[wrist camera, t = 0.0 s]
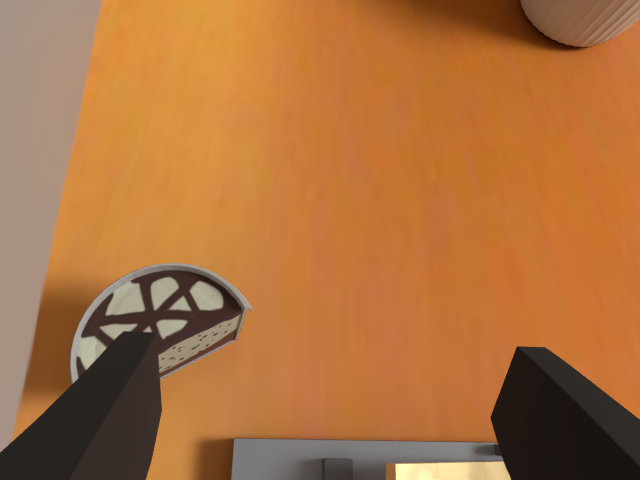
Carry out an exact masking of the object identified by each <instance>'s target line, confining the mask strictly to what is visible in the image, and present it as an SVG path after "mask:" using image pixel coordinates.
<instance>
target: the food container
mask: <svg viewBox="0 0 640 480" xmlns="http://www.w3.org/2000/svg"><path fill="white" fill-rule="evenodd" d="M247 309H248V310H250V311H253V309H252V307H251V306H250V304H249V302H248V301H247V299H246V298H245V297H244V296H243V295H242V294H241V293H240V291H239V290H238V289H237V288H235V287H234V286H233V285H232V284H230V283H229V282H228V281H227V280H225V279H224V278H222V277H220V276H219V275H217V274H215V273H214V272H212V271H209V270H207V269H204V268H201V267H198V266H194V265H189V264H181V263H165V264H156V265H152V266H147V267H144V268H141V269H138V270H135V271H133V272H131V273H129V274H127V275H125V276H123V277H121V278H119V279H118V280H116V281H115V282H114V283H112V284H111V285H110V286H108V287H107V288H106V289H105V290H104V291H103V292H102V293H101V294H99V295H98V296H97V297H96V298H95V300H94V301H93V302H92V304H91V305H90V306H89V307H88V309H87V310H86V312H85V314H84V315H83V317H82V319H81V321H80V322H79V324H78V327H77V330H76V332H75V335H74V337H73V342H72V347H71V351H70V366H69V368H70V377H71V384H73V383H74V382H75V381H76V380H77V379H78V378H79V377H80V376H81V375H82V374H83V373H84V372H85V371H86V370H87V369H88V368H89V367H90V365H91V364H92V363H93V362H94V361H95V360H96V359H97V358H98V357H99V356H100V355H101V354H102V353H103V352H104V350H105V349H106V348H107V347H108V346H109V345H110V344H111V343H112V342H113V341H114V340H115V339H116V337H117V336H118V335H120V334H121V333H122V332H123V331H134V332H157V341H158V357H159V374H160V380H161V379H163V378H165V377H167V376H169V375H171V374H173V373H174V372H176V371H178V370H180V369H182V368H184V367H186V366H188V365H190V364H192V363H194V362H195V361H197V360H199V359H201V358H203V357H205V356H207V355H209V354H211V353H213V352H215V351H217V350H218V349H220V348H222V347H224V346H226V345H228V344H230V343H232V342H234V341H236V340H238V336H239V333H240V330H241V326H242V323H243V319H244V316H245V313H246V310H247Z"/></svg>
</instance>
